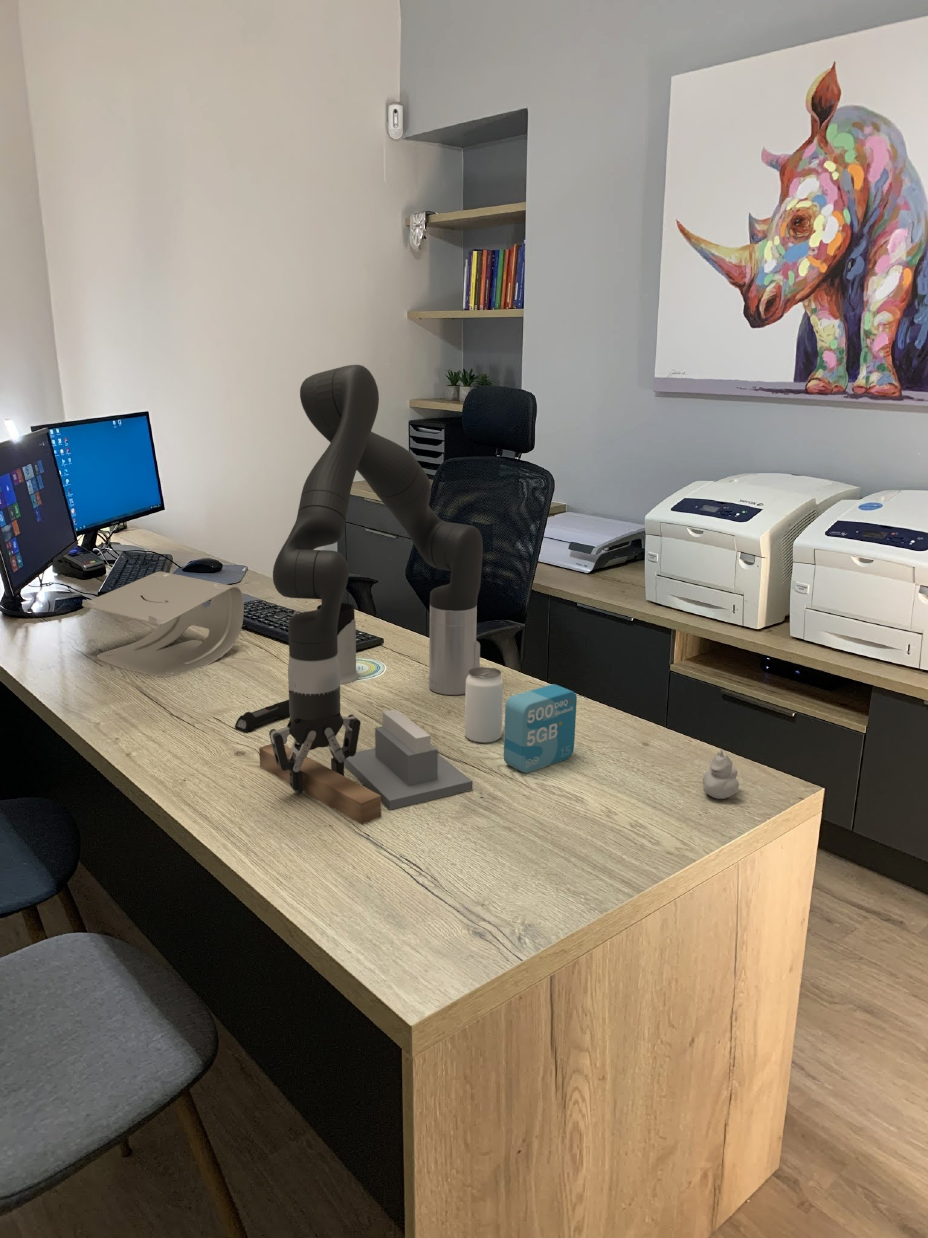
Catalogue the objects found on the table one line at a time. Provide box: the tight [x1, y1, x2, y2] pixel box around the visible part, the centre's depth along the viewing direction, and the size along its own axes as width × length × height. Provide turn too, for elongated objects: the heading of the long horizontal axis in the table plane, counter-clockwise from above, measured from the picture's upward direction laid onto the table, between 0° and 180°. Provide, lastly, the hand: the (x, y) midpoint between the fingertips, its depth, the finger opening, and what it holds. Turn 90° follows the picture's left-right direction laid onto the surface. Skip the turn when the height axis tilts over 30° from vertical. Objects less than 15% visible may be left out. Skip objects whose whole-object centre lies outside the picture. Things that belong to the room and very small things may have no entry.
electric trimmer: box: [234, 699, 290, 734], centre depth 167 cm, size 4×16×3 cm, turn 141°
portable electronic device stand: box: [81, 571, 245, 678], centre depth 199 cm, size 26×24×16 cm
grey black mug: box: [292, 602, 359, 686], centre depth 188 cm, size 9×14×15 cm, turn 71°
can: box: [464, 666, 504, 744], centre depth 160 cm, size 6×6×12 cm
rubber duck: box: [702, 748, 740, 800], centre depth 140 cm, size 5×7×8 cm
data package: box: [503, 683, 578, 774], centre depth 150 cm, size 12×4×12 cm, turn 129°
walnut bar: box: [258, 743, 382, 825], centre depth 140 cm, size 26×4×4 cm, turn 45°
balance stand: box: [344, 709, 473, 811], centre depth 144 cm, size 14×18×9 cm
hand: (317, 786), depth 140 cm, fingers open, 5 cm apart
